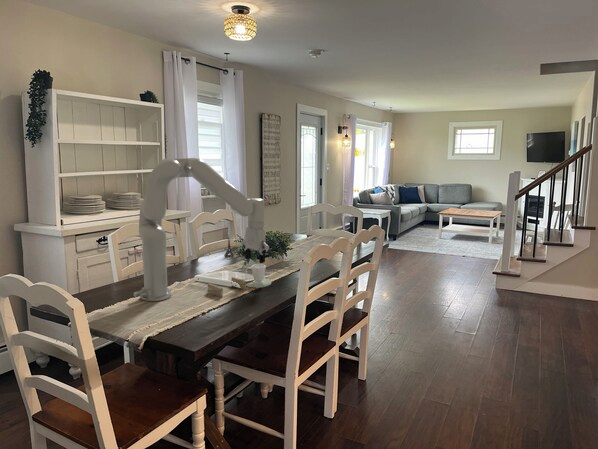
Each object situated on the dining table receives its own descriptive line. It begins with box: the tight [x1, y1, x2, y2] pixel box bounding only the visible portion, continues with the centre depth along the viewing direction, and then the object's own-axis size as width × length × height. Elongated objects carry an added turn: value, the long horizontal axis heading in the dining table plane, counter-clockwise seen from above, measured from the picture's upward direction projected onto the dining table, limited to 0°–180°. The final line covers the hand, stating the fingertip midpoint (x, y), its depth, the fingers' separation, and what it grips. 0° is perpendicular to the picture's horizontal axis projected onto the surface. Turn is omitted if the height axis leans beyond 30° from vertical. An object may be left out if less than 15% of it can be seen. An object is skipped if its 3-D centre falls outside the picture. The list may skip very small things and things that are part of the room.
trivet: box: [246, 277, 272, 289], centre depth 216 cm, size 14×14×1 cm
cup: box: [244, 263, 267, 284], centre depth 215 cm, size 7×10×8 cm
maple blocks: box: [207, 276, 247, 298], centre depth 204 cm, size 15×9×4 cm, turn 138°
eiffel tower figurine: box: [224, 236, 239, 261], centre depth 266 cm, size 15×10×13 cm
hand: (255, 260), depth 214 cm, fingers open, 9 cm apart
